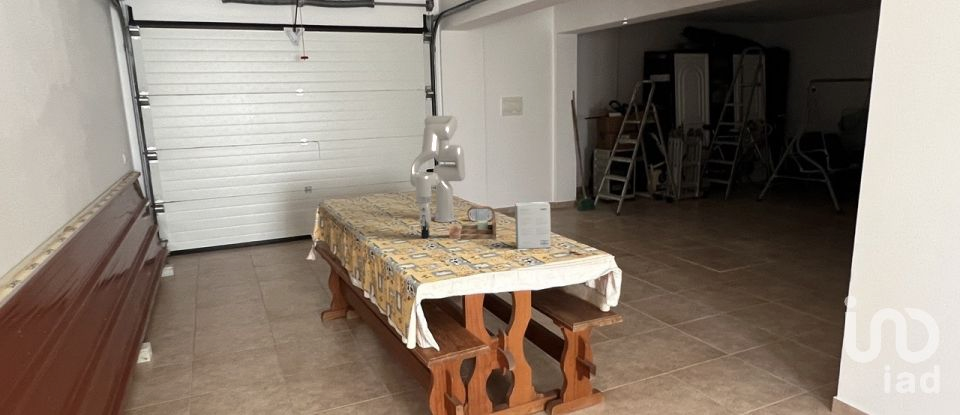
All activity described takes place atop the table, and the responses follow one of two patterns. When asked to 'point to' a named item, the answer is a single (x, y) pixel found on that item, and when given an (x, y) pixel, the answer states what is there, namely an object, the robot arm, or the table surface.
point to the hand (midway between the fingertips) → (425, 235)
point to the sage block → (482, 225)
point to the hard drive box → (533, 225)
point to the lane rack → (479, 231)
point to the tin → (480, 213)
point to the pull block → (453, 232)
